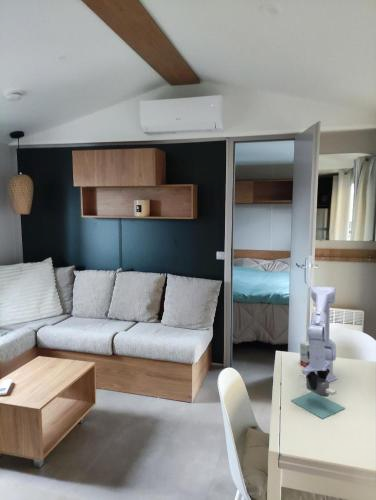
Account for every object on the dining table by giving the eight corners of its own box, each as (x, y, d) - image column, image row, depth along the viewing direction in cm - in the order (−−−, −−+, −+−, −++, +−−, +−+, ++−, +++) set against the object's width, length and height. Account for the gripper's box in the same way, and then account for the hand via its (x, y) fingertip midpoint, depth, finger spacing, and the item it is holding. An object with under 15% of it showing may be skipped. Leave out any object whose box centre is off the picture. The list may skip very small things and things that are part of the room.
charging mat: (290, 401, 150) (290, 400, 150) (312, 392, 157) (312, 391, 157) (322, 419, 136) (322, 418, 136) (345, 408, 143) (345, 407, 143)
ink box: (306, 368, 180) (306, 345, 179) (299, 364, 184) (299, 342, 183) (320, 364, 183) (319, 342, 182) (313, 361, 188) (312, 339, 187)
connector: (304, 387, 149) (304, 375, 149) (311, 384, 151) (311, 373, 151) (330, 400, 138) (330, 388, 137) (337, 397, 140) (337, 385, 139)
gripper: (312, 362, 137) (312, 396, 139) (337, 353, 144) (337, 386, 146) (298, 356, 143) (298, 389, 145) (323, 348, 150) (323, 379, 152)
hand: (317, 387), depth 146 cm, fingers closed on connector, 4 cm apart
